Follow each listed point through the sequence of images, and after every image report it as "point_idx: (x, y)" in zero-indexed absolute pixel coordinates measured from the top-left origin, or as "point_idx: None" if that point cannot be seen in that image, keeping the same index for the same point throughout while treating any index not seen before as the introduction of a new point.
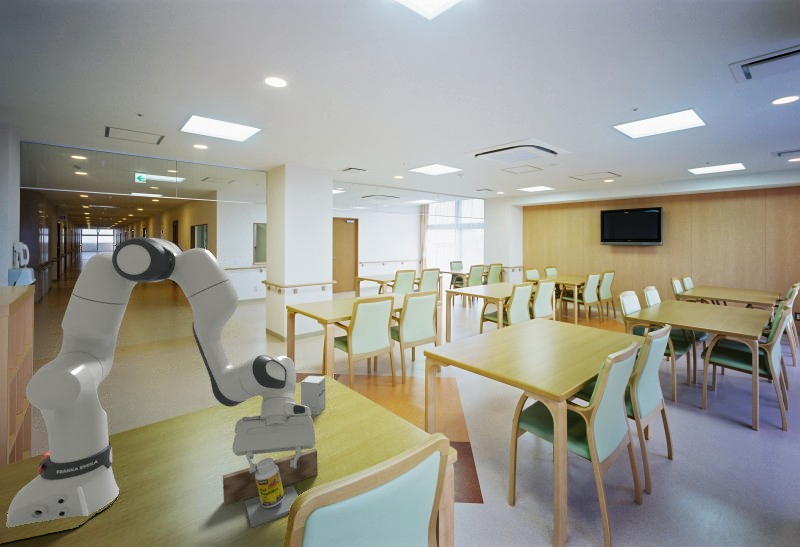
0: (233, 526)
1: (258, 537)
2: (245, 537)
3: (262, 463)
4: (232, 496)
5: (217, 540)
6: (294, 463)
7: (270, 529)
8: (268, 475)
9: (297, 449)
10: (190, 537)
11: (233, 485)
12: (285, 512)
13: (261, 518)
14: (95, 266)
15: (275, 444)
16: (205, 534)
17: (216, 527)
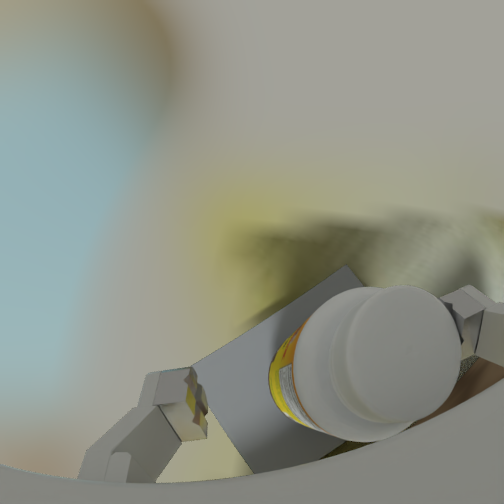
0: (403, 269)
1: (300, 234)
2: (341, 232)
3: (424, 340)
4: (478, 370)
5: (411, 218)
6: (154, 382)
7: (276, 267)
8: (335, 297)
9: (110, 469)
10: (477, 224)
11: (499, 367)
12: (245, 333)
13: (324, 293)
14: None
15: (384, 470)
16: (454, 235)
17: (446, 261)
